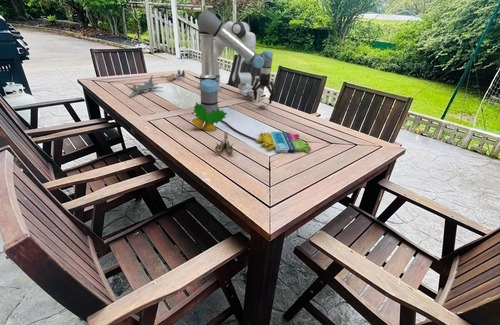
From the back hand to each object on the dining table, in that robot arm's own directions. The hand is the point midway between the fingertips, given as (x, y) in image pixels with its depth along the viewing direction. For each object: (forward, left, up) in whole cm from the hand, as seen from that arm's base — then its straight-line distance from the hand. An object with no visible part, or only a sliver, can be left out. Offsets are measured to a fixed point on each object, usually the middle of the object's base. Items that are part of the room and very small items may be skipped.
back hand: (256, 94), depth 220 cm
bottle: (-1, 0, -6) cm, 6 cm away
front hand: (+15, -12, 0) cm, 19 cm away
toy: (-110, +2, -6) cm, 110 cm away
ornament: (+16, -71, -6) cm, 73 cm away
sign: (+61, -56, -6) cm, 83 cm away
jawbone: (+45, -87, -6) cm, 98 cm away
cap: (+15, -11, -4) cm, 19 cm away
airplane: (-84, -52, -6) cm, 99 cm away
